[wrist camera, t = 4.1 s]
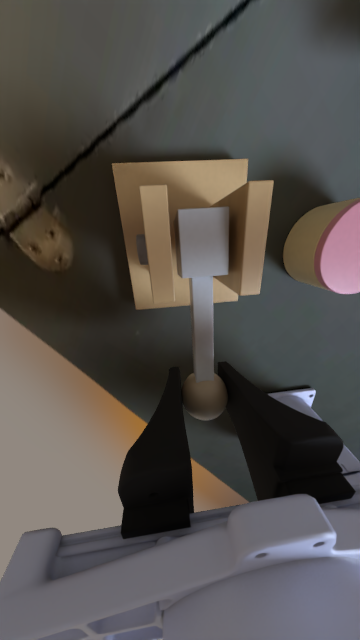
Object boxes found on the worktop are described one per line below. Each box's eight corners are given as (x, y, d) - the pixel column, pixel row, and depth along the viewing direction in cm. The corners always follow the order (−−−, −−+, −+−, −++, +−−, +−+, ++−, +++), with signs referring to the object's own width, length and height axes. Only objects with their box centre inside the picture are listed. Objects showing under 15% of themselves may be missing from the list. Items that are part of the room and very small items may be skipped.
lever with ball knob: (219, 394, 14) (234, 428, 11) (180, 399, 14) (185, 435, 11) (219, 219, 10) (241, 203, 7) (165, 222, 10) (167, 207, 7)
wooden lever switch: (232, 297, 17) (289, 341, 10) (137, 305, 17) (119, 360, 9) (241, 164, 13) (349, 67, 6) (115, 169, 13) (50, 66, 5)
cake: (339, 279, 18) (389, 290, 14) (277, 285, 17) (310, 298, 14) (362, 202, 15) (431, 190, 11) (290, 206, 15) (335, 195, 11)
